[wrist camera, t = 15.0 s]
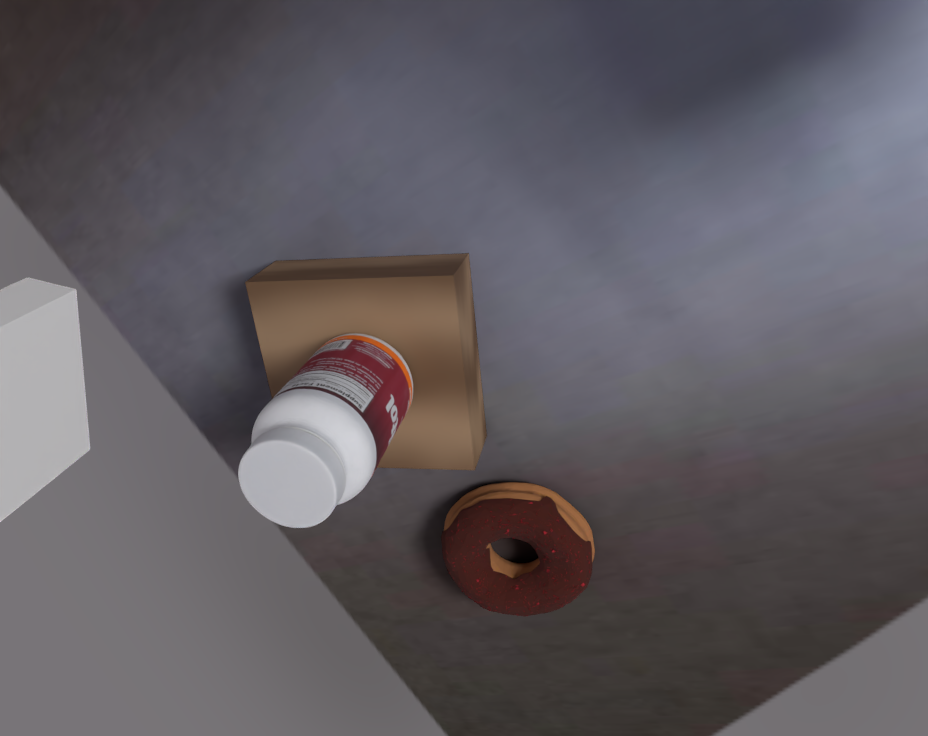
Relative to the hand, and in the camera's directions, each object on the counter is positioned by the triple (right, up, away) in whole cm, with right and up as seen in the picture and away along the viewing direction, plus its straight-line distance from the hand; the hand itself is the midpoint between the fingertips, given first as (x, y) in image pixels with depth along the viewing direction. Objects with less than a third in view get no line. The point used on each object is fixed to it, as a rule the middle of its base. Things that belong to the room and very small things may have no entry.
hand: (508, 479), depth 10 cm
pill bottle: (-6, +1, +33) cm, 33 cm away
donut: (+3, -10, +40) cm, 42 cm away
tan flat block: (-6, +3, +36) cm, 36 cm away
